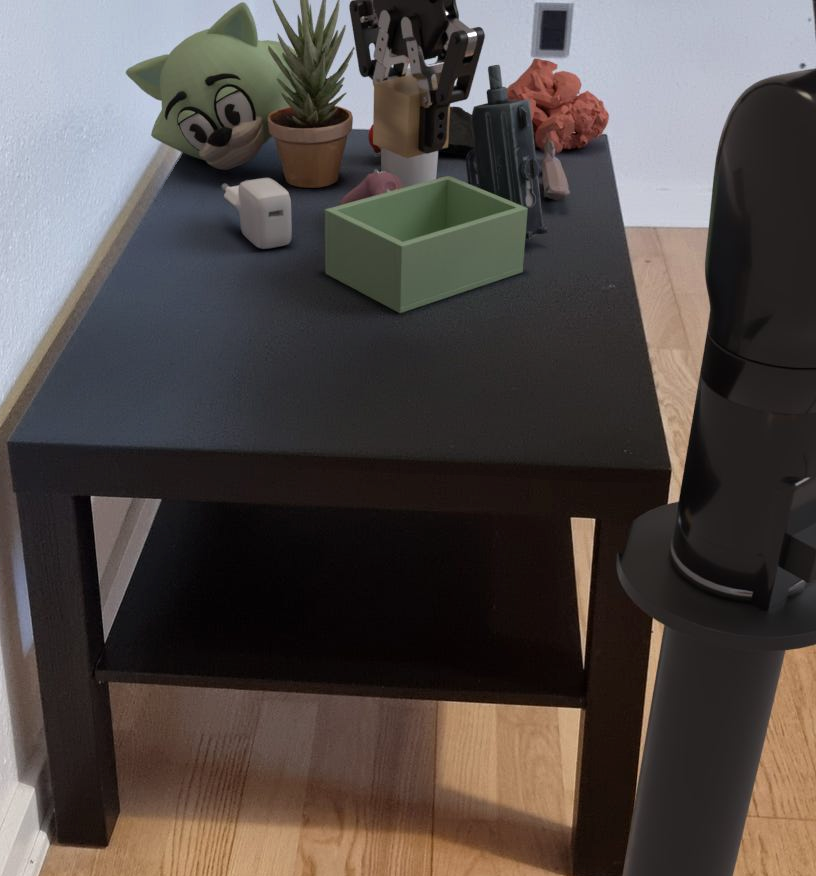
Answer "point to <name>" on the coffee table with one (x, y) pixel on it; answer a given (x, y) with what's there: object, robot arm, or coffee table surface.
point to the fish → (553, 174)
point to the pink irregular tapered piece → (373, 186)
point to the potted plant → (311, 101)
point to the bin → (424, 242)
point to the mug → (410, 163)
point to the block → (399, 115)
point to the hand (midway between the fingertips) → (410, 141)
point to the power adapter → (262, 211)
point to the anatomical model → (559, 107)
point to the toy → (217, 90)
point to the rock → (459, 132)
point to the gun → (506, 152)
